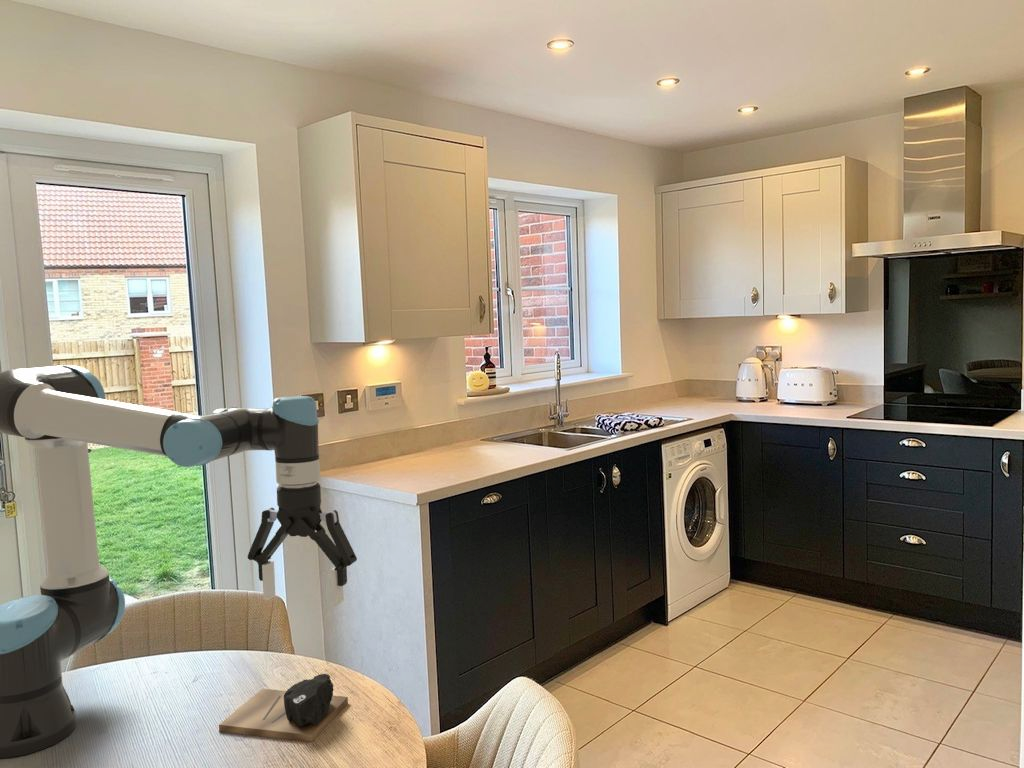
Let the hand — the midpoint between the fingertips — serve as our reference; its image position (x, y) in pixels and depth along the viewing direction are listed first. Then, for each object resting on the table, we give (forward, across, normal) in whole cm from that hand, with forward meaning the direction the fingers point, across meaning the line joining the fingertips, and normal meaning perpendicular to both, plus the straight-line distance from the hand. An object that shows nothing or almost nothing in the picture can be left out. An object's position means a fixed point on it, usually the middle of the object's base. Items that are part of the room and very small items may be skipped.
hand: (303, 600), depth 141 cm
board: (+22, -4, 0) cm, 22 cm away
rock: (+21, +1, -1) cm, 21 cm away
